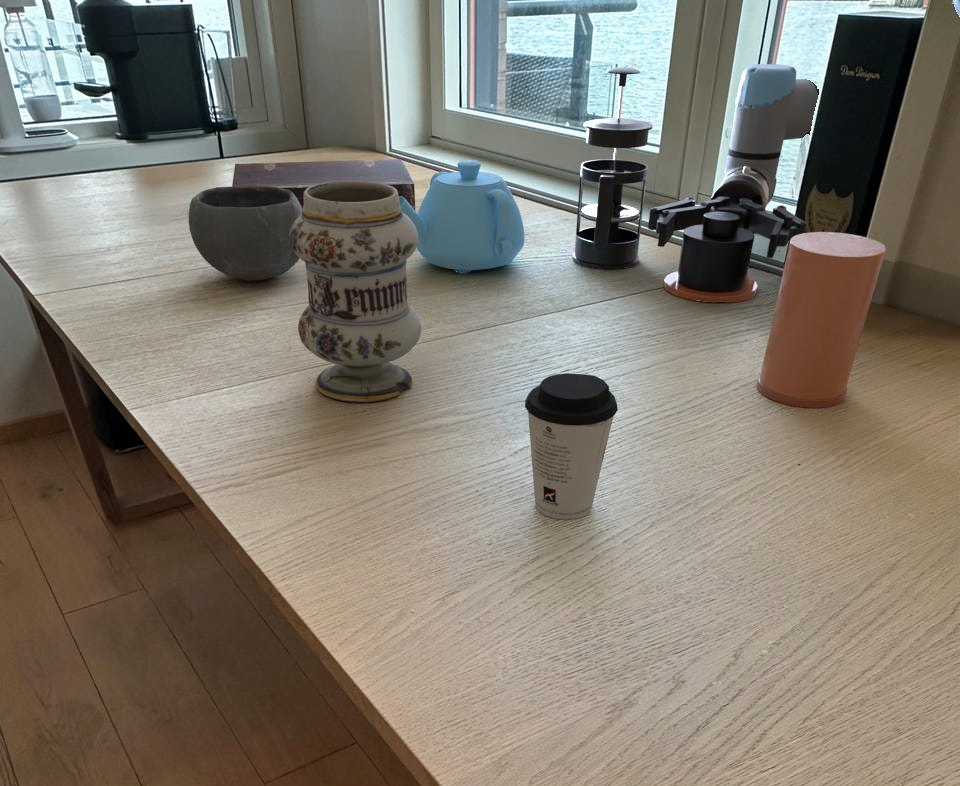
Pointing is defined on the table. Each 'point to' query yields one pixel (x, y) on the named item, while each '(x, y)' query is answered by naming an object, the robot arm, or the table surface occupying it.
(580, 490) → the coffee cup
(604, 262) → the french press
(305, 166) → the hardback book
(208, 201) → the bowl
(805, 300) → the cylinder
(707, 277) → the shaker lid
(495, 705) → the table surface
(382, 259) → the apothecary jar
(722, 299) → the coaster
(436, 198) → the teapot
